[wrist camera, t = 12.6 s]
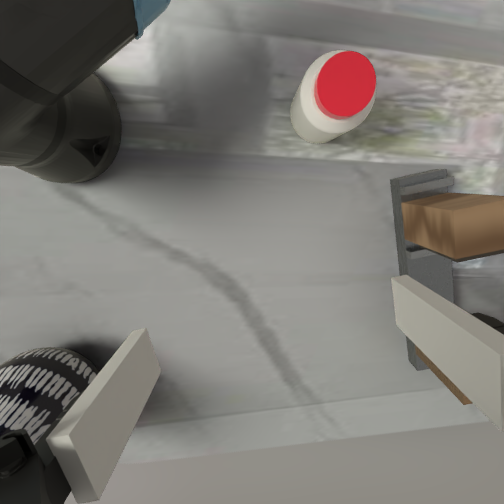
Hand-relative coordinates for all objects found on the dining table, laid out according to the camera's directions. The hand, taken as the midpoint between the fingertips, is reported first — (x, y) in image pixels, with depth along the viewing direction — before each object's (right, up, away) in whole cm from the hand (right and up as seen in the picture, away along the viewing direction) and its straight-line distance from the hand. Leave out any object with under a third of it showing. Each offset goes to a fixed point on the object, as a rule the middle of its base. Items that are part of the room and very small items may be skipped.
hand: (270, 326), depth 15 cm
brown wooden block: (+22, +9, +23) cm, 33 cm away
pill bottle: (+8, +22, +22) cm, 32 cm away
